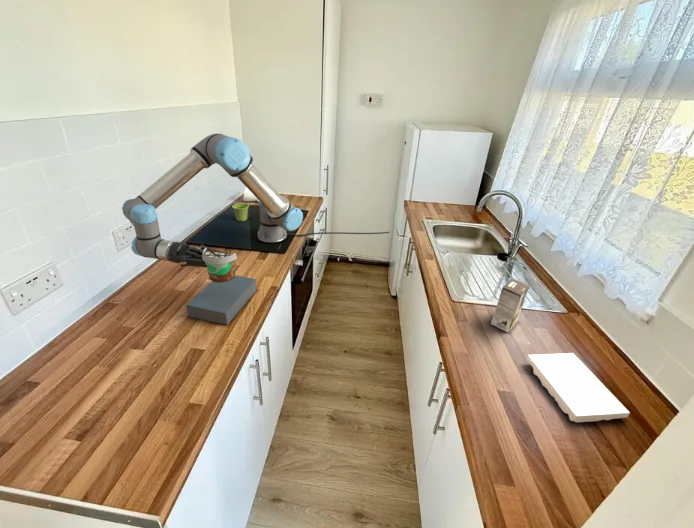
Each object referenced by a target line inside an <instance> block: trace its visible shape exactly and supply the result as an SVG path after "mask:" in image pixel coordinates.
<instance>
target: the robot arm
mask: <svg viewBox="0 0 694 528" xmlns="http://www.w3.org/2000/svg"><path fill="white" fill-rule="evenodd" d="M215 164H217V165H219V166H220V167H221V168H222V169H223V170H224V172H226V173H227V174H228V175H229V176H230V177H231V178H237V179H238V180H239V181H240V182H241V183H242V184H243V185H244V187H245V188H246V187H247V188H248V189H249V190H250V191H251V192H252V193H253V194H254V196H255V197H256V198H257V199H258V200H259V202H258V205H259V218H260V219H259V221H260V225H259V228H258V231H257V240H258V241H259V242H261V243H262V244H263V243H264V244H271V245H272V244H279V243H282V242H285V241H286V240H287V238H288V235H289V236H295V237H305V236H311V235H329V234H330V235H333V234H334V235H341V234H342V235H384V234H390V231H381V232H346V231H345V232H344V231H343V232H342V231H341V232H339V231H338V232H337V231H336V232H335V231H330V232H329V231H328V232H323V231H322V232H309V233H303V234H295V233H292V232H293V231H294V232H295V231H296V230H297V229H299V227H300V226H301V225H302V223H303V219H304V214H303V213H304V212H302V210H301V209H300V208H298V207H296V206H295V205H294V204H293V203H292V202H291V201H290V200H289V198H287V197H284V196H283V195H281V194H280V193H279V191H277V190H276V188H274V186H273V185H272V184H271V183H270V181H269V180H267V178H266V177H265V176H264V175H263V173H262V172H261V171H260V170H259V168H258V167H257V166H255V164H254V158H253V156H252V155H251V151H250V148H249V147H248V145H247V144H246V143H245V142H243V140H240V139H239V138H236V137H234V136H229V135H226V134H223V133H211V134H209V135H207V136H206V137H204V138H202V139H201V140H200V141H198V142H197V143H196V144H195V145H193V146H192V147H191V148H190V149H189V153H188V154H187V155H186V156H185V157H183V158H182V159H181V160H180V161H179V162H177V163H176V164H175V165H174V166H173V167H171V168H170V169H168V170H167V171H166V172H165V173H163V175H161V176H160V177H159V178H158V179H156V180H155V181H154V182H153V183H152V184H151V185H149V186H148V187H147V188H146V189H144V190H143V191H142V192H141V193H140V194H138V195H137V196H136V197H134V198H129V199H127V200H125V201H124V202H123V203H124V204H123V203H122V205H123V207H122V206H121V211H122V210H123V211H122V214H123V216H124V217H125V218H126V220H128V221H129V222H130V223H131V225H132V226H133V228H134V231H135V232H134V233H135V235H136V236H135V237H134V238H133V239H132V241H131V251H132V252H133V254H134V255H136V256H140V257H143V258H147V259H155V260H159V261H166V262H170V263H175V264H179V266H180V267H195V268H207V266H206V263H205V261H204V260H203V259H202V254H203V250H204V249H205V248H206V249H207V250H209V251H219V252H221V251H220V250H217V249H215V248H212V247H208V246H205V245H204V244H200V246H199V247H196V246H189V244H188V243H186V242H181V241H177V240H171V239H165V238H162V236H161V231H160V225H159V220H158V213H157V211H156V209H158V208H159V207H160V206H161V205H162V204H163V203H165V202H166V201H167V200H168V199H169V198H170V197H172V196H173V195H174V194H175V193H176V192H178V191H179V190H181V188H183V187H184V186H185V185H186V184H187V183H188V182H190V181H191V180H192V179H193V178H194V177H196V176H197V175H198V174H199V173H200V172H201V171H202V170H204V169H209V168H210V167H211V166H213V165H215ZM290 232H291V233H290Z"/></svg>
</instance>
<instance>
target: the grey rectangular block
mask: <svg viewBox="0 0 694 528" xmlns="http://www.w3.org/2000/svg"><path fill="white" fill-rule="evenodd" d="M257 286H258V285H257V279H256V278H253V277H248V276H247V277H246V276H240V275H238V274H237V275H236V274H235V278H234V279H232V280H230V281H227V282H221V283H219V282H213V281H210V283H208V285H206V286H205V287H204V288H203V289H202V290H201V291H199V293H198V294H196V295H194V297H193V298H192V299H191V300H190V301H189V302H188V303H187V304H185V306H186V311H187V317H188V318H193V319H194V318H195V319H198V320H202V321H207V322H212V323H216V324H221V325H224V326H228V325H229V324H230V323H231V321H232V320H233V319H234V318H235V317H236V316H237V314H239V312H240V311H241V309H242V308H243V307H244V306H245V305H246V304H247V302H248V301H249V300H250V299H251V297H252V296H253V295H254V294H255V293H256V291H257V290H258V287H257Z"/></svg>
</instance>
